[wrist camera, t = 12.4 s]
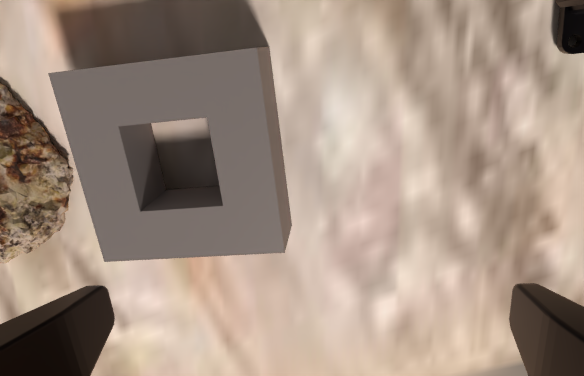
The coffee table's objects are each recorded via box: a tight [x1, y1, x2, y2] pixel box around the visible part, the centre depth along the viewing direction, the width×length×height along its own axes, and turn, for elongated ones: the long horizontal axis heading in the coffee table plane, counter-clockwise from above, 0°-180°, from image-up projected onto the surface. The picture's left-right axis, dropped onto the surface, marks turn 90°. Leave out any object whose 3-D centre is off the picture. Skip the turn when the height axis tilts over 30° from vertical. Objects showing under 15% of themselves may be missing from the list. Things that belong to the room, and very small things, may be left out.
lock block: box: [48, 47, 292, 262], centre depth 19 cm, size 9×9×3 cm
